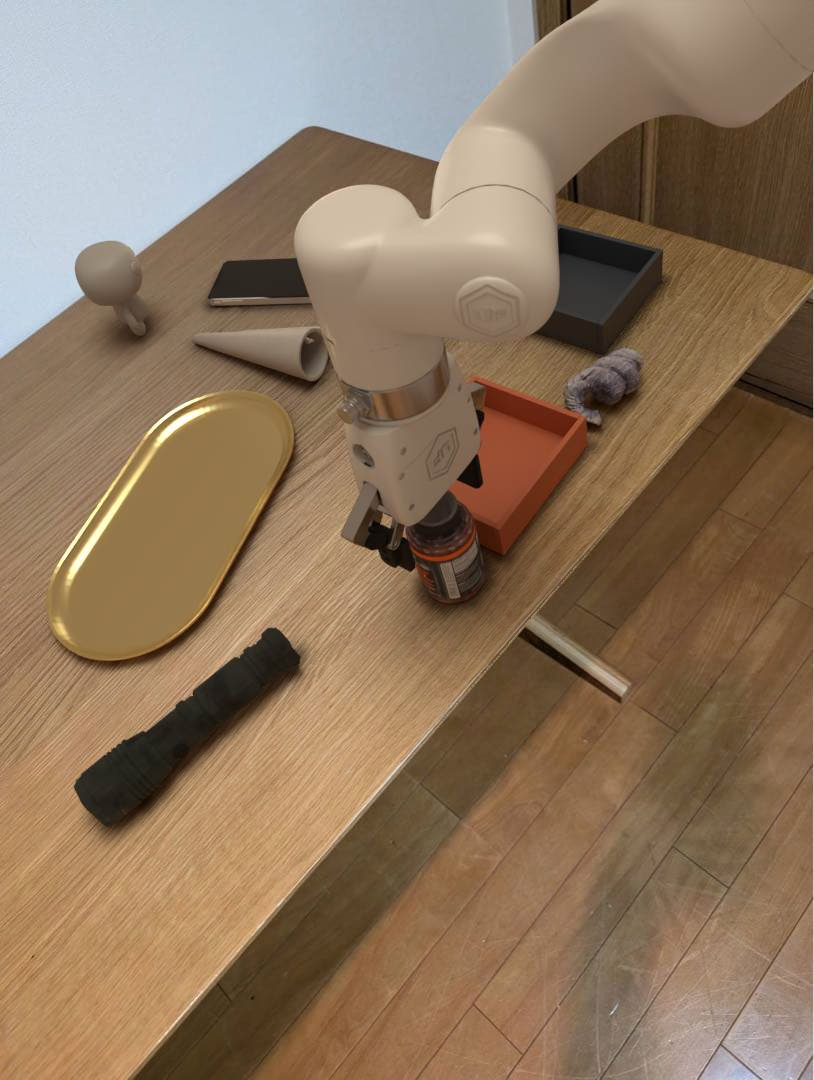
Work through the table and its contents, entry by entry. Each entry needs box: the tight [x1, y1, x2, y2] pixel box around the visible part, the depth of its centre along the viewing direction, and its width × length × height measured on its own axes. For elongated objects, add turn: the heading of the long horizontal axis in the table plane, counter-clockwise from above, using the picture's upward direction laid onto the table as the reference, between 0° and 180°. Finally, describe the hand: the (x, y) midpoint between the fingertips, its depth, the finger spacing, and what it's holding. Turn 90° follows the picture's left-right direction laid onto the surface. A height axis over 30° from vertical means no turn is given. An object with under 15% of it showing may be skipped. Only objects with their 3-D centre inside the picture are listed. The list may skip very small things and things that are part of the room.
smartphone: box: [206, 257, 312, 307], centre depth 110 cm, size 8×1×15 cm
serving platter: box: [45, 389, 295, 662], centre depth 89 cm, size 19×35×2 cm, turn 159°
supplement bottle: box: [404, 490, 486, 604], centre depth 74 cm, size 6×6×11 cm
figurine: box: [74, 240, 148, 337], centre depth 106 cm, size 8×8×12 cm
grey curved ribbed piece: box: [562, 346, 645, 427], centre depth 86 cm, size 5×5×10 cm
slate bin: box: [535, 223, 664, 355], centre depth 95 cm, size 13×13×4 cm
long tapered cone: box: [192, 325, 329, 382], centre depth 100 cm, size 6×6×19 cm
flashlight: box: [73, 627, 302, 827], centre depth 73 cm, size 5×21×5 cm, turn 130°
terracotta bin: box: [448, 374, 589, 556], centre depth 83 cm, size 13×15×4 cm
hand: (433, 520), depth 71 cm, fingers open, 9 cm apart
